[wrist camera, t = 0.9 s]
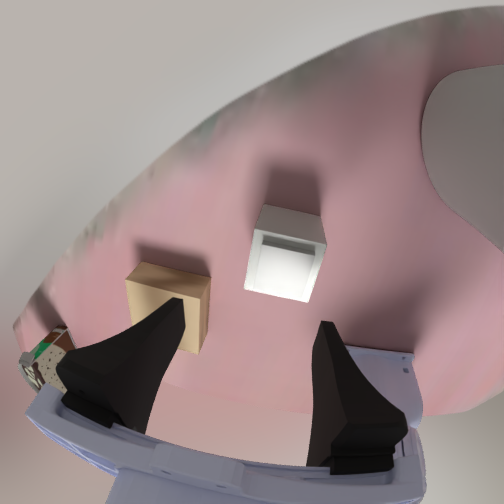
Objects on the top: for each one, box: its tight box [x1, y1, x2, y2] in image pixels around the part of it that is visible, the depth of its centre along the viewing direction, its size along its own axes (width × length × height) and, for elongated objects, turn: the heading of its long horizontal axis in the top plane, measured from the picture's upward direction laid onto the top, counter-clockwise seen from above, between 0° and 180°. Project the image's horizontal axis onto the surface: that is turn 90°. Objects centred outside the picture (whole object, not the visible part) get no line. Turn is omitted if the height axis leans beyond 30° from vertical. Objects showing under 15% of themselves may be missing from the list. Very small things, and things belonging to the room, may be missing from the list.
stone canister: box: [244, 204, 327, 302], centre depth 19 cm, size 4×4×6 cm
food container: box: [18, 326, 77, 394], centre depth 31 cm, size 12×6×10 cm, turn 175°
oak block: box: [125, 262, 211, 355], centre depth 25 cm, size 7×7×4 cm
